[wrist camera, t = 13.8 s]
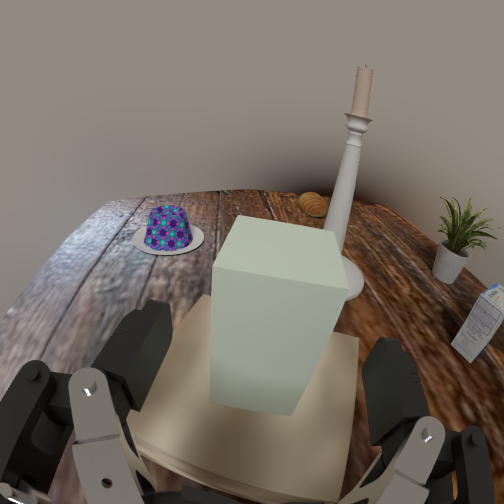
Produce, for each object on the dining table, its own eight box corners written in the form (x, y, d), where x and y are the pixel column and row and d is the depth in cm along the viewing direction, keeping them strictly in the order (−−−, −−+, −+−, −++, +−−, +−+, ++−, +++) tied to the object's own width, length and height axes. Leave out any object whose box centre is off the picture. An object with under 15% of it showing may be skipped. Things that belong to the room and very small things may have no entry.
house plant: (433, 301, 36) (473, 206, 28) (397, 257, 48) (422, 177, 40) (479, 298, 37) (514, 221, 30) (444, 261, 49) (468, 192, 42)
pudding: (127, 231, 45) (125, 203, 43) (189, 221, 51) (190, 195, 49) (140, 265, 37) (137, 232, 34) (215, 251, 43) (217, 220, 40)
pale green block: (294, 357, 19) (333, 231, 14) (291, 416, 14) (349, 289, 9) (226, 345, 19) (238, 215, 14) (210, 402, 15) (212, 266, 10)
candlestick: (302, 245, 47) (333, 69, 33) (370, 272, 42) (416, 87, 27) (263, 275, 38) (297, 44, 23) (348, 314, 32) (413, 61, 18)
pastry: (332, 221, 60) (335, 205, 58) (304, 218, 60) (307, 202, 58) (320, 206, 68) (323, 192, 67) (295, 204, 68) (297, 189, 66)
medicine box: (469, 365, 24) (505, 313, 20) (448, 344, 27) (481, 292, 23) (487, 344, 27) (516, 297, 23) (469, 327, 30) (496, 280, 26)
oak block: (336, 378, 24) (359, 337, 21) (306, 512, 12) (338, 501, 9) (203, 339, 27) (203, 294, 24) (129, 448, 15) (105, 417, 12)
